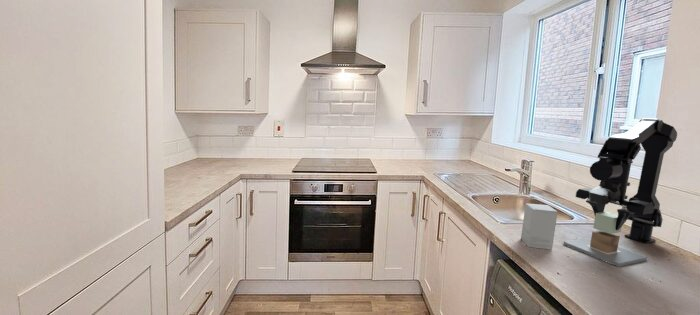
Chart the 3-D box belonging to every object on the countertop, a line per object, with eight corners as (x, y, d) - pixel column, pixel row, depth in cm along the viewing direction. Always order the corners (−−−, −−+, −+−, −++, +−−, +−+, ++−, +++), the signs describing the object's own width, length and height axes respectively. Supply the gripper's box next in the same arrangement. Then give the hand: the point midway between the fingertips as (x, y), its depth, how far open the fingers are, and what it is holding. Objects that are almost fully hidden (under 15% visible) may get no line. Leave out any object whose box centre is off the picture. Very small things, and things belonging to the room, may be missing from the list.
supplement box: (552, 250, 102) (558, 211, 101) (527, 247, 104) (532, 209, 102) (543, 241, 110) (549, 204, 108) (520, 238, 111) (525, 202, 109)
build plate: (590, 239, 113) (590, 236, 113) (646, 260, 98) (646, 256, 98) (563, 244, 108) (563, 241, 107) (618, 267, 93) (618, 263, 93)
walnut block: (599, 244, 106) (602, 229, 105) (617, 250, 101) (619, 235, 101) (589, 246, 104) (592, 231, 103) (607, 253, 100) (609, 237, 99)
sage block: (603, 226, 105) (605, 211, 104) (620, 232, 100) (623, 216, 100) (593, 228, 103) (595, 212, 102) (610, 233, 99) (613, 218, 98)
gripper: (568, 172, 105) (560, 219, 107) (636, 186, 88) (626, 241, 90) (590, 171, 109) (583, 216, 111) (659, 184, 92) (649, 237, 94)
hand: (607, 226), depth 102 cm, fingers closed on sage block, 5 cm apart
